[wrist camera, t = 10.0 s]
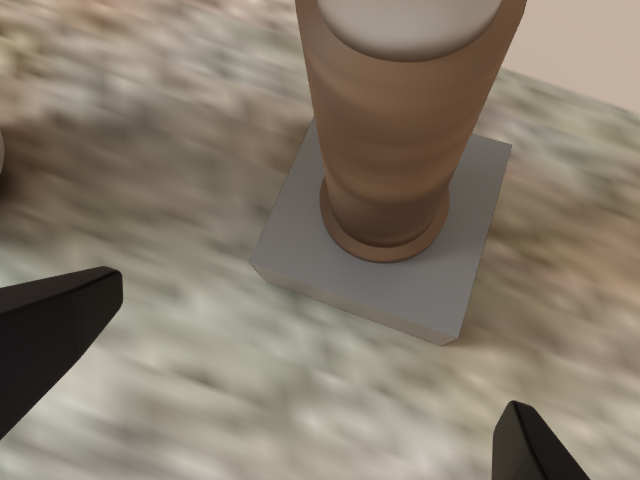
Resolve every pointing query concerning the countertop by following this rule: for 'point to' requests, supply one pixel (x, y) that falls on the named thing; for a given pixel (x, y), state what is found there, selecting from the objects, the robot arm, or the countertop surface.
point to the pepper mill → (397, 110)
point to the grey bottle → (1, 151)
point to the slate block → (380, 278)
